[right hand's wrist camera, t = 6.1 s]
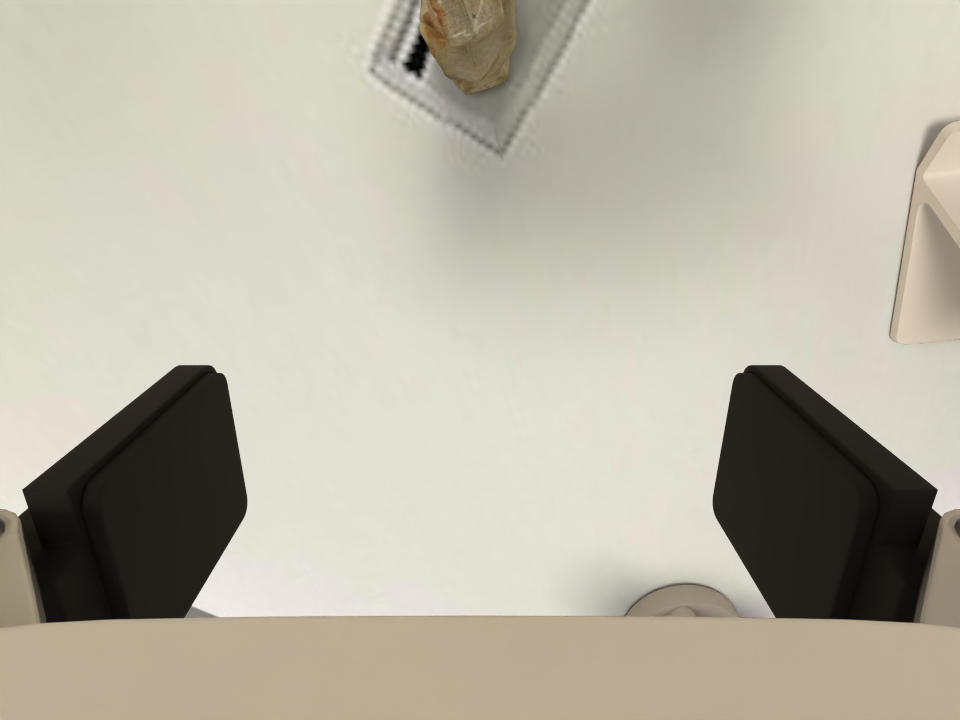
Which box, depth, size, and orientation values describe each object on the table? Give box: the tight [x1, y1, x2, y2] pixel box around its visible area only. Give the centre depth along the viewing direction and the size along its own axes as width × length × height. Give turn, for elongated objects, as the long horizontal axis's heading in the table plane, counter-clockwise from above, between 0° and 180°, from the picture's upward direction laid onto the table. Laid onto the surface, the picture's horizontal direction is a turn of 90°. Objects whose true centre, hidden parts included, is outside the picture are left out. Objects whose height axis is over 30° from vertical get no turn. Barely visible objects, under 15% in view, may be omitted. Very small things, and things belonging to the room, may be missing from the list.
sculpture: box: [419, 0, 517, 94], centre depth 36 cm, size 6×7×15 cm
